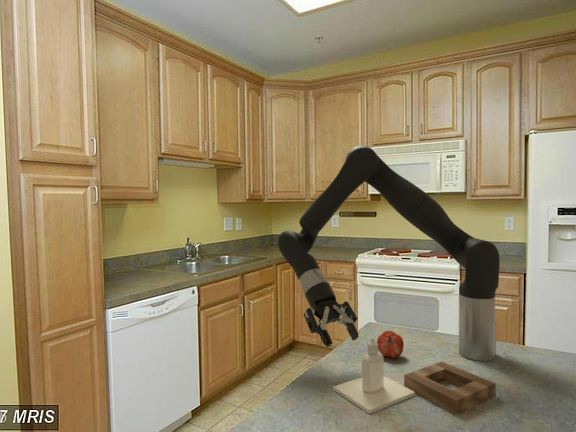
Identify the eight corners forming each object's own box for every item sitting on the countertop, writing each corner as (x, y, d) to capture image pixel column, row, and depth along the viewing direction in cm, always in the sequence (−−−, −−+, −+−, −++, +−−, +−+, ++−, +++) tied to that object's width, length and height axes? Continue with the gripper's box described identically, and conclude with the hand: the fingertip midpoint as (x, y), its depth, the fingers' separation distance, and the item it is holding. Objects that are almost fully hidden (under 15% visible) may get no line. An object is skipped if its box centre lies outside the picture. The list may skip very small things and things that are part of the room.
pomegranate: (377, 358, 113) (370, 347, 105) (384, 334, 116) (377, 322, 109) (402, 366, 109) (396, 355, 102) (408, 342, 112) (403, 329, 105)
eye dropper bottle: (388, 392, 86) (388, 340, 86) (364, 394, 85) (364, 342, 85) (380, 383, 91) (380, 333, 90) (358, 385, 90) (357, 335, 89)
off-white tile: (376, 375, 97) (376, 372, 97) (414, 395, 86) (414, 392, 86) (333, 389, 89) (333, 386, 89) (369, 413, 79) (369, 410, 79)
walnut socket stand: (442, 372, 98) (442, 361, 97) (495, 396, 86) (495, 383, 85) (404, 387, 90) (404, 374, 90) (457, 414, 78) (457, 400, 78)
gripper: (300, 284, 100) (327, 340, 90) (342, 278, 107) (371, 329, 98) (290, 299, 105) (314, 355, 95) (331, 293, 112) (357, 343, 103)
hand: (343, 342), depth 97 cm, fingers open, 8 cm apart
